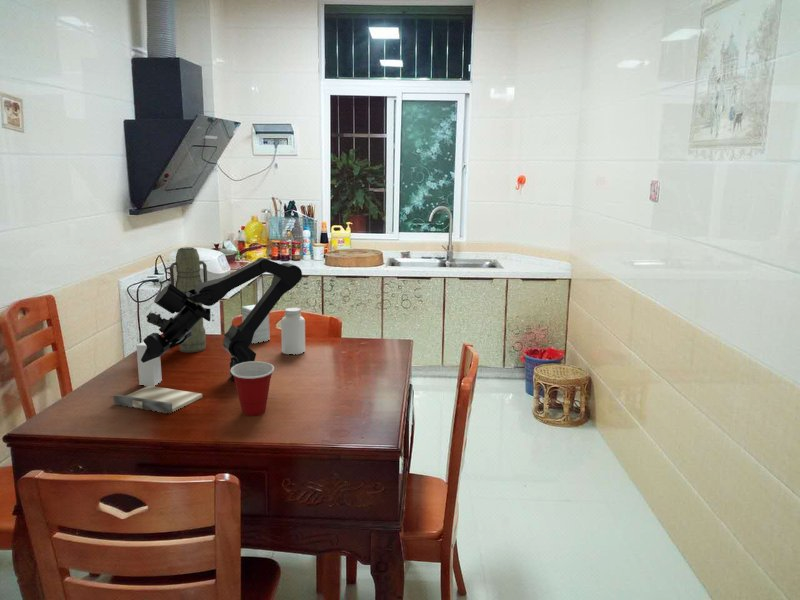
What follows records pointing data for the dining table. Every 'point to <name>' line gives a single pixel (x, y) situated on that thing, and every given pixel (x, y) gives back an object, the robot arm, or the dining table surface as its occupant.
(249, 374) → the plastic cup
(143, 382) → the grey carton
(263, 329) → the supplement box
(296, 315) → the pill bottle
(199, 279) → the thermos
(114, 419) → the dining table surface
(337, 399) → the dining table surface
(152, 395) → the shelf board
